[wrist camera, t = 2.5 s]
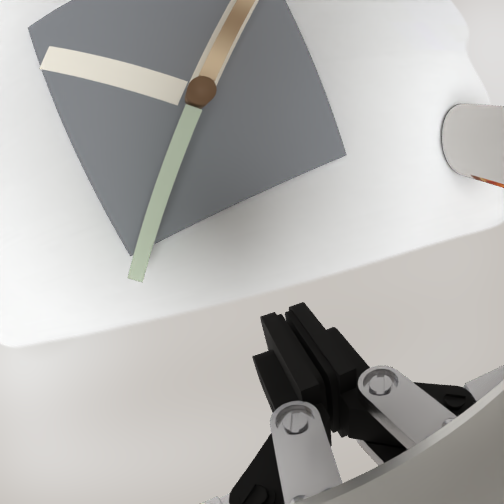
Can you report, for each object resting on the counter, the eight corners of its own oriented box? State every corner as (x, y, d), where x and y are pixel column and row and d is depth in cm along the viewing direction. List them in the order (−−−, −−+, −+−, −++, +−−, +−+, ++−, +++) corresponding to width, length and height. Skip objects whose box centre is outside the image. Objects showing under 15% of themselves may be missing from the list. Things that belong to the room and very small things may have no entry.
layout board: (28, 29, 14) (26, 28, 13) (250, -59, 15) (251, -61, 14) (129, 254, 22) (129, 257, 22) (344, 154, 23) (346, 155, 23)
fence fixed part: (238, -11, 17) (254, -38, 13) (258, -3, 17) (277, -29, 13) (180, 105, 19) (182, 97, 15) (202, 113, 20) (209, 107, 16)
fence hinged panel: (184, 108, 19) (185, 104, 16) (198, 113, 19) (202, 109, 16) (132, 258, 21) (127, 278, 19) (145, 262, 22) (142, 282, 19)
